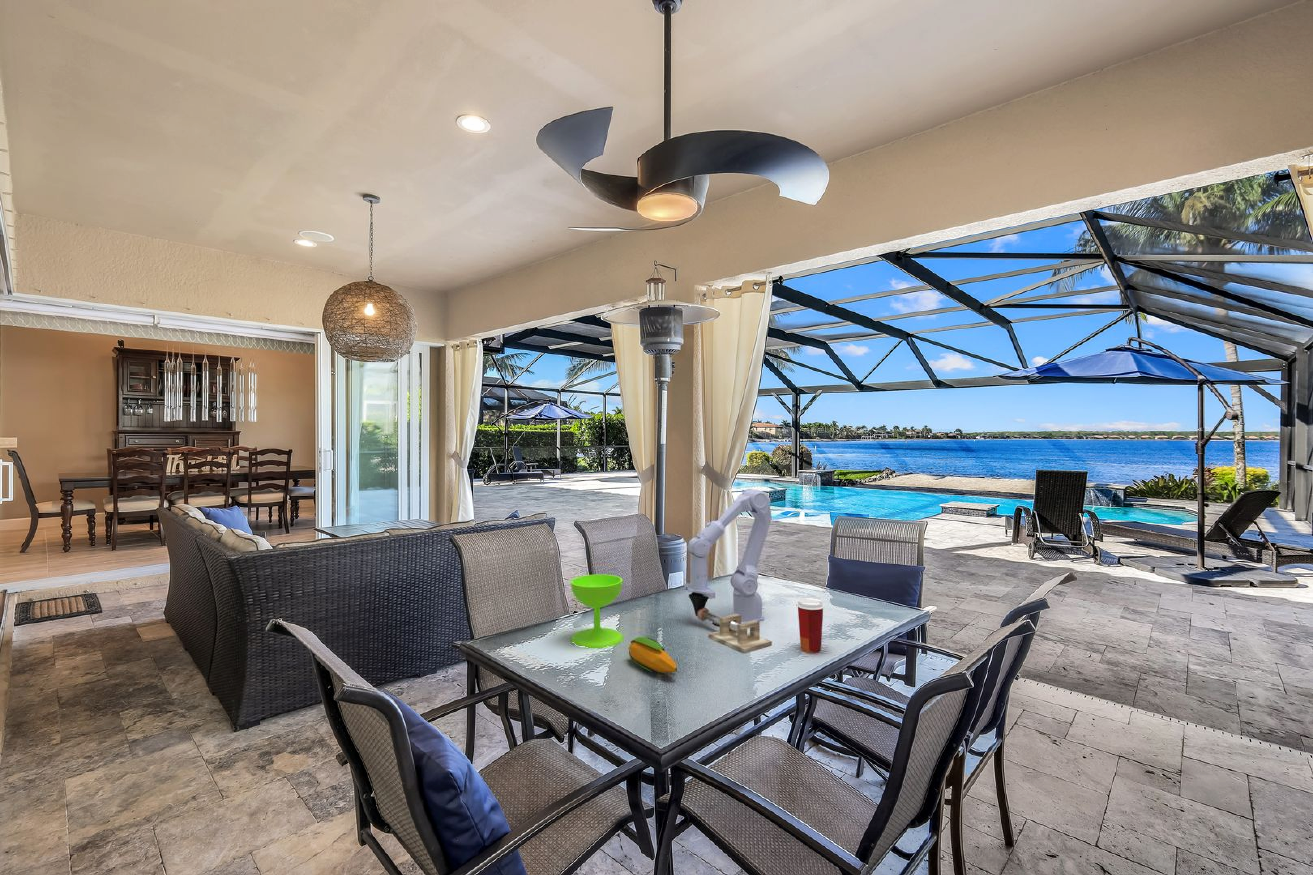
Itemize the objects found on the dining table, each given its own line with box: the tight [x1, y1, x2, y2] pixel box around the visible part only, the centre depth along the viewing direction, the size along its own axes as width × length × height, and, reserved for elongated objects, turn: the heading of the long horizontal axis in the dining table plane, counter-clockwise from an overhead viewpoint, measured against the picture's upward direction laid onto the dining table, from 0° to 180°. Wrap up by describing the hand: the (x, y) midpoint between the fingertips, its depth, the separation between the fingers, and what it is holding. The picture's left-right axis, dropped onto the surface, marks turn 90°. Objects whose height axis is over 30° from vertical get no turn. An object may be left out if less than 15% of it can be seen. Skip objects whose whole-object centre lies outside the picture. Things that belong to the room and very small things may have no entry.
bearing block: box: [707, 614, 773, 654], centre depth 171 cm, size 16×11×6 cm
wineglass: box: [570, 573, 624, 649], centre depth 174 cm, size 16×16×18 cm
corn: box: [628, 636, 678, 674], centre depth 151 cm, size 7×8×20 cm
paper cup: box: [796, 597, 825, 654], centre depth 164 cm, size 8×8×14 cm
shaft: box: [696, 607, 739, 631], centre depth 178 cm, size 18×4×4 cm, turn 34°
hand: (699, 615), depth 187 cm, fingers closed
